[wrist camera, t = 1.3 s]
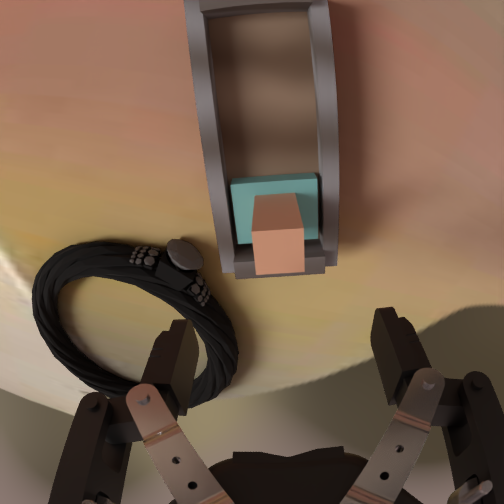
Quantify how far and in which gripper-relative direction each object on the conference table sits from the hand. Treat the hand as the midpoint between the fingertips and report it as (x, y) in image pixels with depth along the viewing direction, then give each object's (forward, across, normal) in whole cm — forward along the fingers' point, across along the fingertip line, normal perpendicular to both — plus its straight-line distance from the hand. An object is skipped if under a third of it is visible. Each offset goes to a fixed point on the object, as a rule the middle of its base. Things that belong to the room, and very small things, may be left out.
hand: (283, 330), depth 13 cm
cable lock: (+16, +18, +15) cm, 28 cm away
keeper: (+14, 0, 0) cm, 14 cm away
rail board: (+16, 0, -6) cm, 17 cm away
